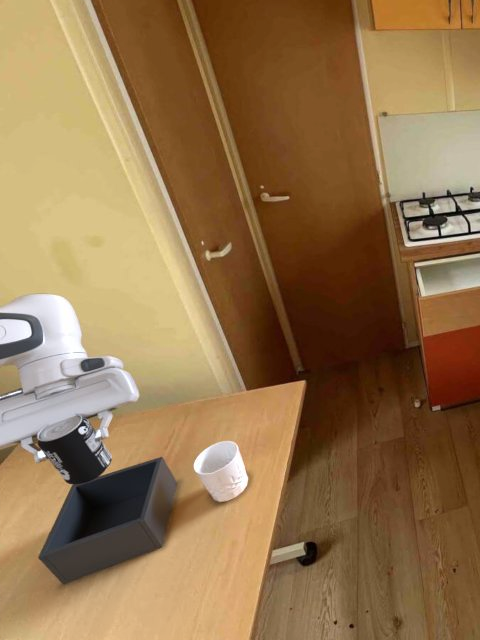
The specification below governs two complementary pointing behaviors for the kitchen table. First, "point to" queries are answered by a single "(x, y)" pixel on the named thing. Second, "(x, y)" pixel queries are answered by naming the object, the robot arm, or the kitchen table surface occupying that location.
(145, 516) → the bin
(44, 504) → the kitchen table surface
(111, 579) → the kitchen table surface
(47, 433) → the beverage can
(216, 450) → the white cup
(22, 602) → the kitchen table surface
